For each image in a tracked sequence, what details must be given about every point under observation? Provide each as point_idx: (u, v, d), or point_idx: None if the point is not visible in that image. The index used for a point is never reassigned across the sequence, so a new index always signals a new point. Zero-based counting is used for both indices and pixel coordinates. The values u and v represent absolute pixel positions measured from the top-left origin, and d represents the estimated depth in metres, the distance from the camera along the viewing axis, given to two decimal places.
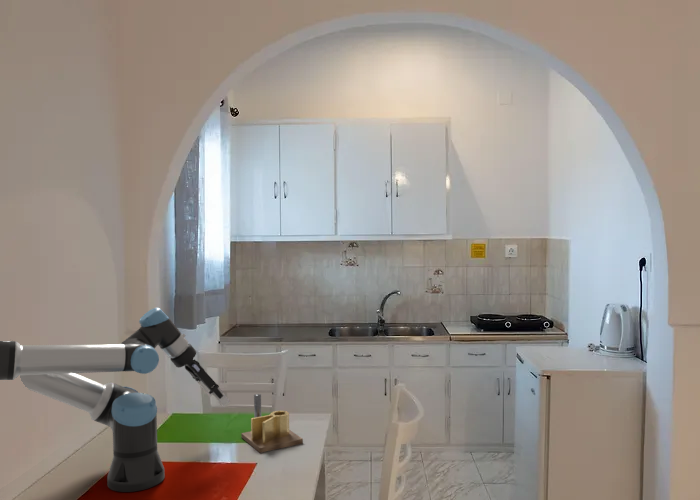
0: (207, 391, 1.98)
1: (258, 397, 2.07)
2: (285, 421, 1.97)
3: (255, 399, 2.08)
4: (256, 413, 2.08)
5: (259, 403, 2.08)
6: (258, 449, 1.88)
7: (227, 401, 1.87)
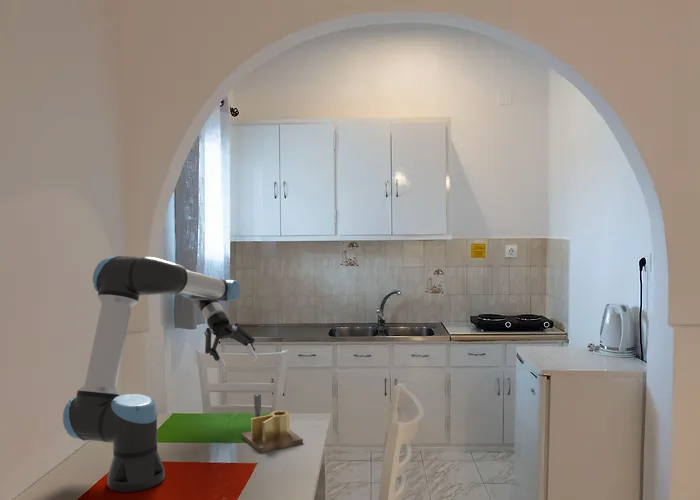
0: None
1: (258, 397, 2.07)
2: (285, 421, 1.97)
3: (255, 399, 2.08)
4: (256, 413, 2.08)
5: (259, 403, 2.08)
6: (258, 449, 1.88)
7: None
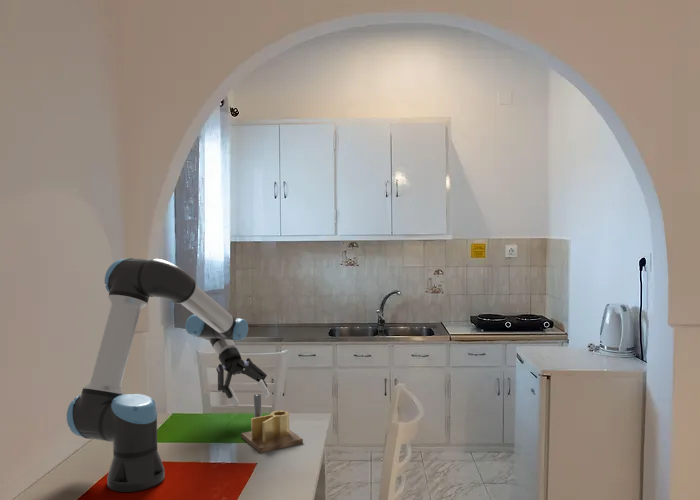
0: None
1: (258, 397, 2.07)
2: (285, 421, 1.97)
3: (255, 399, 2.08)
4: (256, 413, 2.08)
5: (259, 403, 2.08)
6: (258, 449, 1.88)
7: None
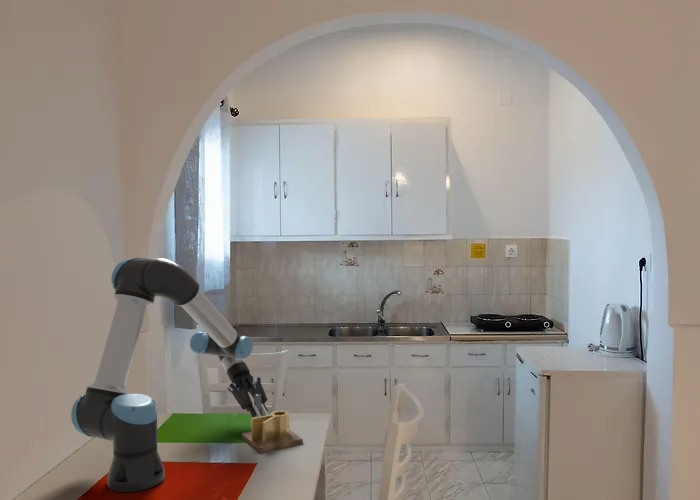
0: None
1: (258, 397, 2.07)
2: (285, 421, 1.97)
3: (255, 399, 2.08)
4: None
5: (259, 403, 2.08)
6: (258, 449, 1.88)
7: None
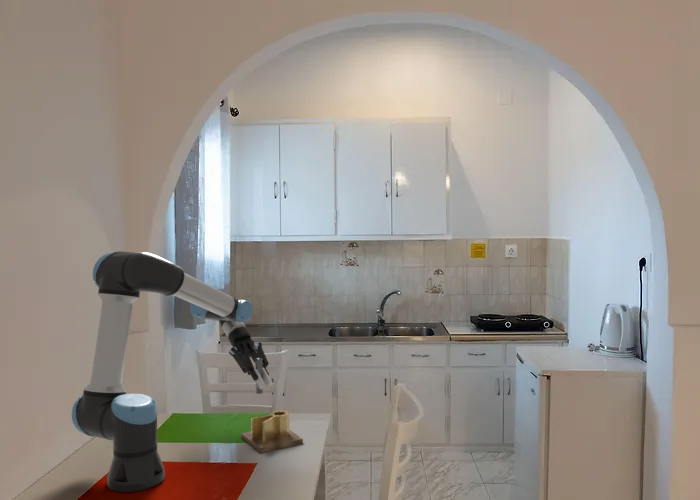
0: None
1: (259, 361, 2.06)
2: (285, 421, 1.97)
3: (256, 363, 2.07)
4: None
5: (260, 367, 2.07)
6: (258, 449, 1.88)
7: None
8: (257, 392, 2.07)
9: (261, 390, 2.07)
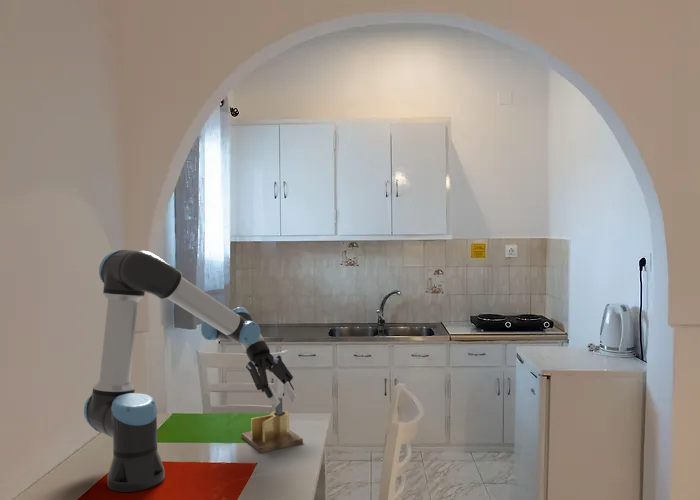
0: None
1: None
2: (285, 421, 1.97)
3: None
4: None
5: (280, 407, 1.98)
6: (258, 449, 1.88)
7: None
8: None
9: None
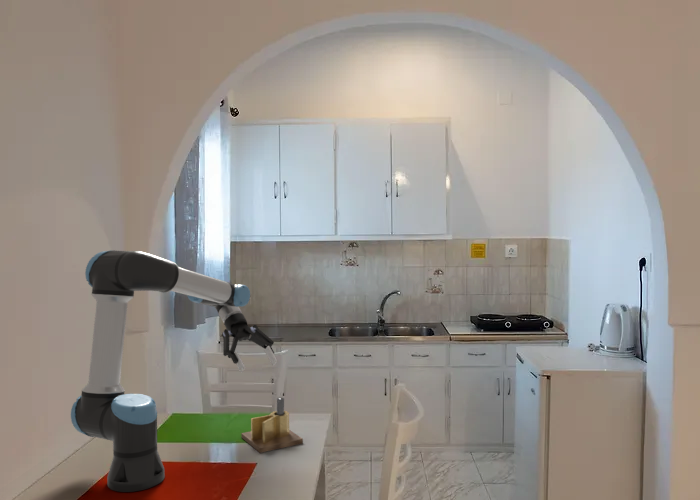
0: None
1: (281, 401, 1.97)
2: (285, 421, 1.97)
3: (278, 403, 1.97)
4: None
5: (282, 407, 1.98)
6: (258, 449, 1.88)
7: None
8: None
9: None
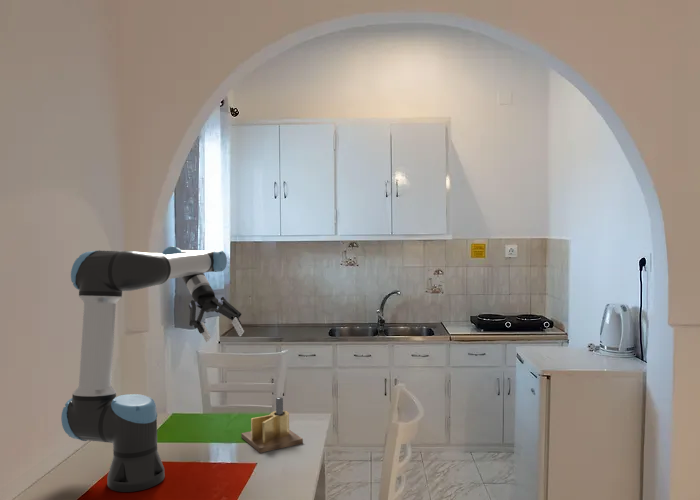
0: None
1: (280, 400, 1.98)
2: (285, 421, 1.97)
3: (277, 402, 1.98)
4: None
5: (281, 407, 1.98)
6: (258, 449, 1.88)
7: None
8: None
9: None
